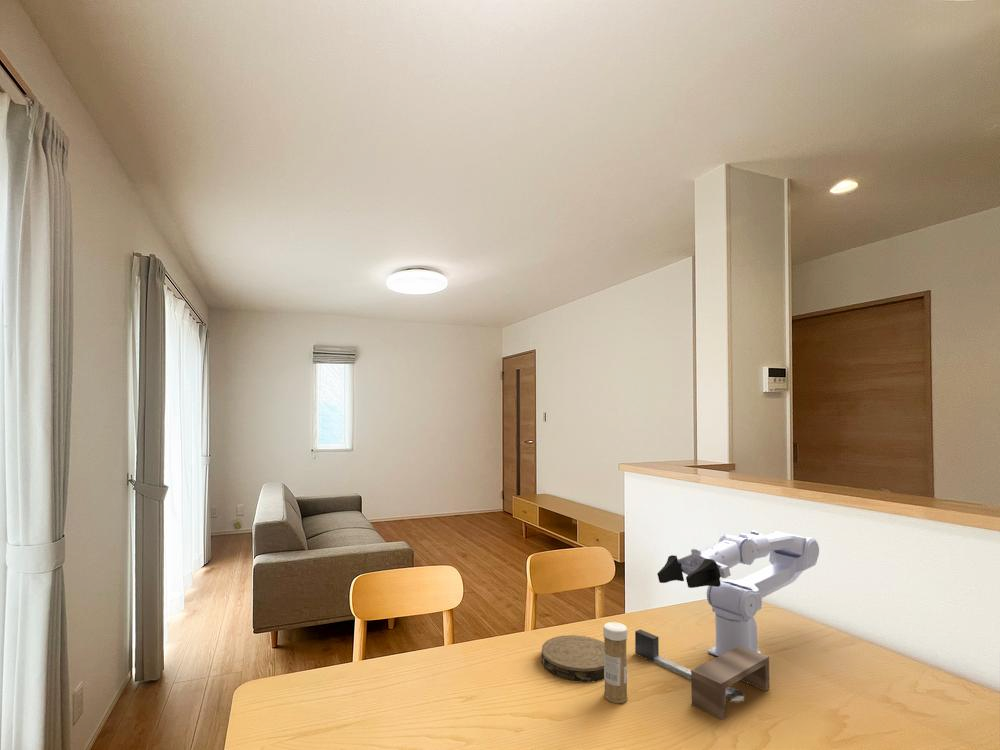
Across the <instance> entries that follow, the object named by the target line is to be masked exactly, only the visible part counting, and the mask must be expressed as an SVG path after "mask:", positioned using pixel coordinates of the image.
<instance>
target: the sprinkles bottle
mask: <svg viewBox="0 0 1000 750" xmlns="http://www.w3.org/2000/svg"><path fill="white" fill-rule="evenodd" d="M602 630H603V632H602V633H603V638H604V640H603V642H604V679H603V680H604V692H603V696H604V698H605V699H606V700H607V701H608V702H609V703H610V702H611V703H613V704H623V703H625V702H626V701H627V700H628V698H629V696H628V695H629V694H628V660H627V658H628V656H627V652H628V651H627V640H628V639H627V638H628V627H627V626H626V625H625V624H623V623H620V622H617V621H616V622H615V621H613V622H612V621H611V622H609V621H608V622H606V623H605V624H603V629H602Z"/></svg>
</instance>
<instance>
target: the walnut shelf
mask: <svg viewBox="0 0 1000 750" xmlns="http://www.w3.org/2000/svg"><path fill="white" fill-rule="evenodd" d="M690 670H691V680H690V682H691V683H690V685H691V686H690V687H691V689H690V690H691V705H692V706H693V707H696V708H698V709H700V710H702V711H704V712H706V713H707V714H709V715H712V716H713V717H715V718H717V719H719V720H723V719H725V718H726V717H727V709H726V708H727V705H726V704H727V700H726V688H727V687H731V686H732V685H733V684H735V683H738V681H742V682H744V681H745V682H744V683H747V682H748V683H747V684H749V683H750V684H749V685H751V684H752V685H751V686H753V685H754V687H756V686H757V687H756V688H758V687H759V688H758V689H760V688H762V689H761V690H763V689H764V690H763V691H765V690H767V691H768V690H769V688H771V687H770V656H768V655H765V654H763V653H762V652H761V653H758V652H755V651H753V650H750V649H747V648H745V647H742V646H738V647H736V648H734V649H732V650H730V651H729V652H727V653H725V654H723V655H721V656H719V657H718V656H716V657H715V658H713V659H710V660H709V661H707V662H705V663H703V664H701V665H699V666H696V667H695V668H693V669H690Z"/></svg>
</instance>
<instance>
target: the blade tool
mask: <svg viewBox="0 0 1000 750" xmlns="http://www.w3.org/2000/svg"><path fill="white" fill-rule="evenodd" d="M634 632H635V633H634V635H635V637H634V638H635V640H634V641H635V642H634V646H635V647H634V649H635V650H634V651H635V653H636V654H635V653H634V654H635V655H637V654H638V655H637V656H639V655H640V656H639V657H641V656H642V657H641V658H643V657H644V658H643V659H645V658H647V659H646V660H648V661H650V660H651V661H650V662H652V661H653V662H652V663H654V662H655V663H654V664H656V663H657V665H658V664H659V665H658V666H660V665H661V666H660V667H663V668H665V669H667V670H669V671H672V672H673V671H674V672H673V673H675V674H677V673H678V675H680V676H682V677H684V678H686V679H688V680H690V681H691V670H692V669H690V668H687V667H685V666H683V665H680V664H678V663H677V662H674V661H673V660H669V659H667V658H665V657H663V656H661V655H659V651H660V650H659V649H660V648H659V647H660V646H659V643H660V642H659V636H658V635H655V634H652V633H650V632H648V631H645V630H642V629H637V630H635V631H634Z"/></svg>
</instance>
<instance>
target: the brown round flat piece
mask: <svg viewBox="0 0 1000 750" xmlns="http://www.w3.org/2000/svg"><path fill="white" fill-rule="evenodd" d="M541 665H542V666H543V668H544V670H546V671H547V672H548V673H549V674H550V675H553V676H554V677H556V678H558V679H561V680H566V681H570V682H576V683H593V682H592V681H595V682H599V681H603V680H605V679H604V641H601V640H600V639H596V638H594V637H589V636H585V635H575V634H572V635H571V634H570V635H569V634H568V635H560V636H559V635H558V636H555V637H552V638H549V639H548V640H546V641H545V642H544V643H543V644H542V646H541ZM602 679H603V680H602ZM598 680H599V681H598Z"/></svg>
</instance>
